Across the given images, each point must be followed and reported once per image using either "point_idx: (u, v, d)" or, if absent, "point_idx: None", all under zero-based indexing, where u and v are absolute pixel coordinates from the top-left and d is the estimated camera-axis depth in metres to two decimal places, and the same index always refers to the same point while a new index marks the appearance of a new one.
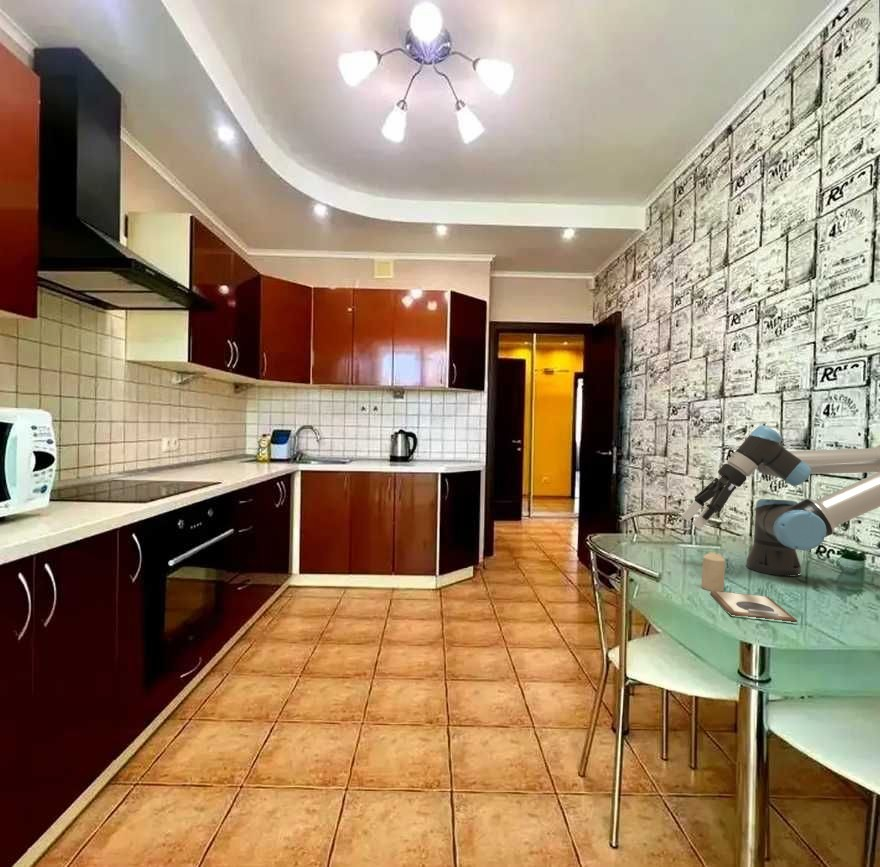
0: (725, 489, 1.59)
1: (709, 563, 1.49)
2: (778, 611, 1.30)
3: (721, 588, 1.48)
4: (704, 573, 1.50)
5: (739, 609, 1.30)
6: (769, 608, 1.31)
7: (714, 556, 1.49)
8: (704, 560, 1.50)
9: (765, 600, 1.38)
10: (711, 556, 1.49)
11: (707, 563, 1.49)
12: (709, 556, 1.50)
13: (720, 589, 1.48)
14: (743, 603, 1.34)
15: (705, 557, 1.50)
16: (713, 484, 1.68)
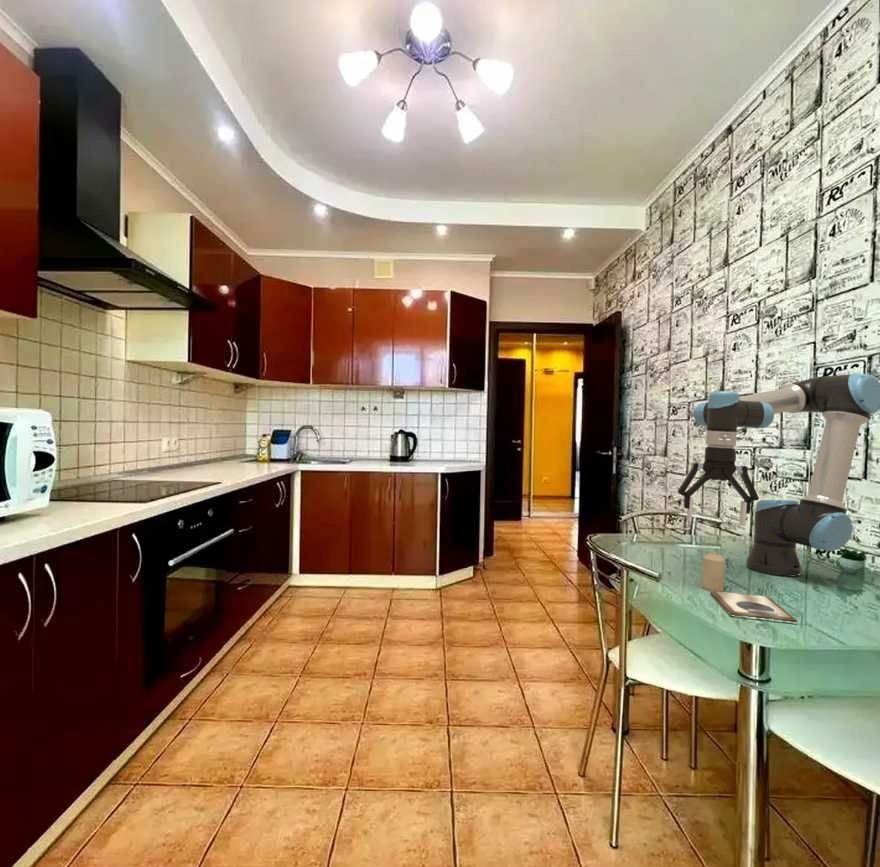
0: None
1: (708, 563, 1.49)
2: (778, 611, 1.30)
3: (721, 588, 1.48)
4: (704, 573, 1.50)
5: (739, 609, 1.30)
6: (769, 608, 1.31)
7: (714, 556, 1.49)
8: (704, 560, 1.50)
9: (765, 600, 1.38)
10: (711, 556, 1.49)
11: (707, 563, 1.49)
12: (709, 556, 1.50)
13: (720, 589, 1.48)
14: (743, 603, 1.34)
15: (705, 557, 1.50)
16: (714, 474, 1.49)
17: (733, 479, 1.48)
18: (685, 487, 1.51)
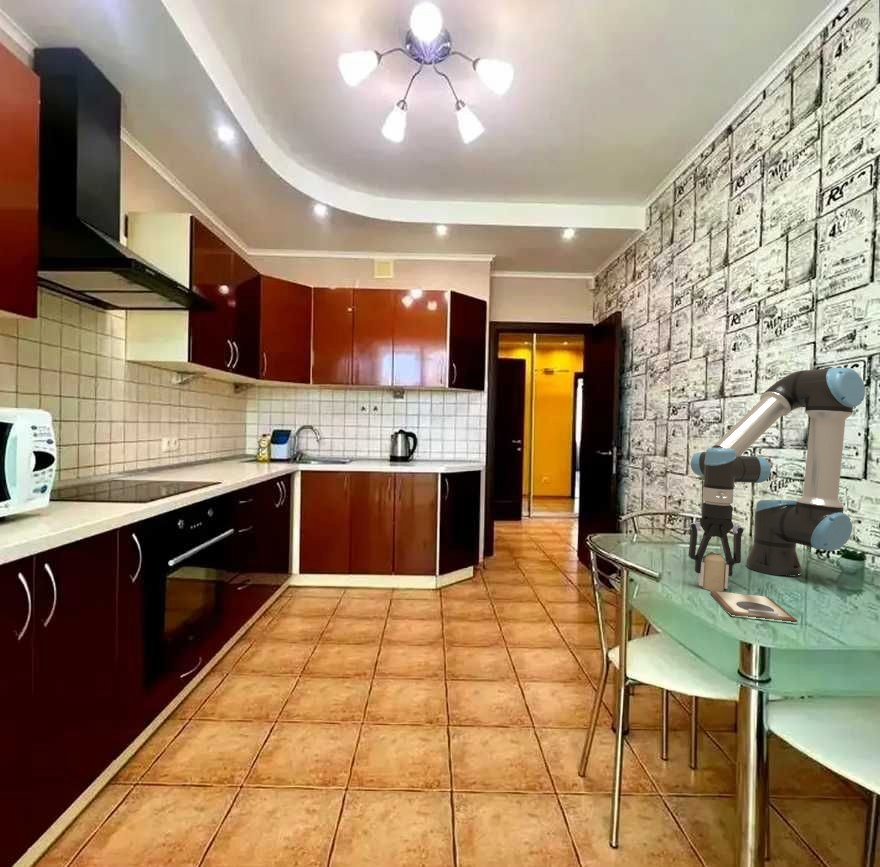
0: None
1: (708, 563, 1.49)
2: (778, 611, 1.30)
3: (721, 588, 1.48)
4: (704, 573, 1.50)
5: (739, 609, 1.30)
6: (769, 608, 1.31)
7: (714, 556, 1.49)
8: (704, 560, 1.50)
9: (765, 600, 1.38)
10: (711, 556, 1.49)
11: (707, 563, 1.49)
12: (709, 556, 1.50)
13: (720, 589, 1.48)
14: (743, 603, 1.34)
15: (705, 557, 1.50)
16: (713, 531, 1.49)
17: (726, 538, 1.48)
18: (693, 550, 1.50)
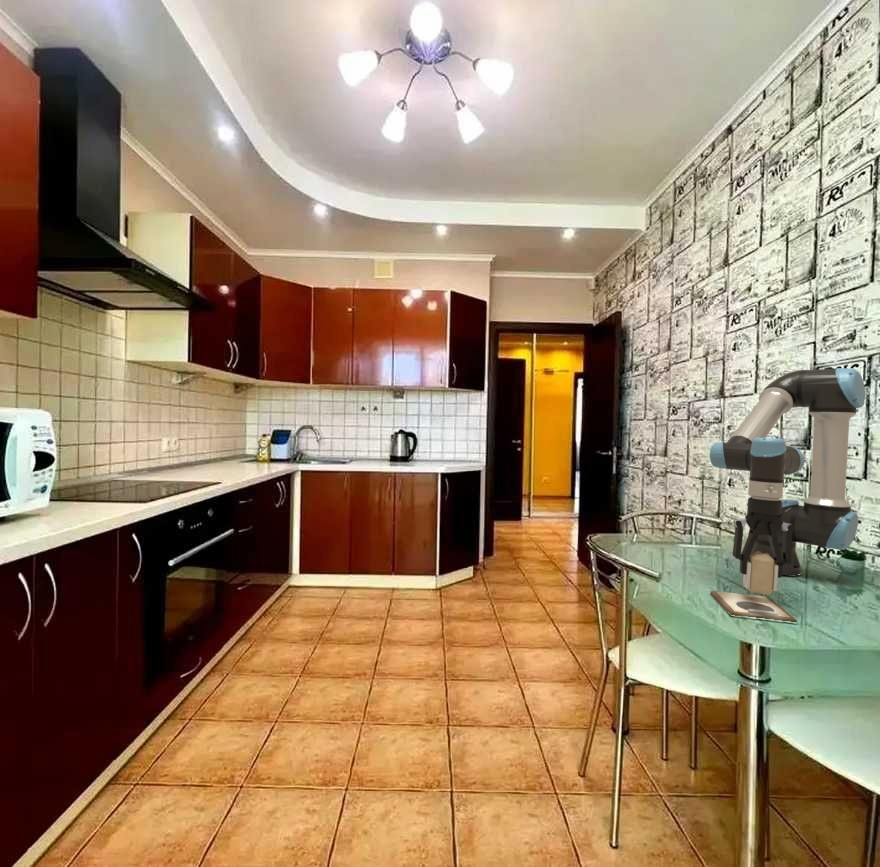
0: None
1: (756, 564, 1.36)
2: (778, 611, 1.30)
3: (770, 591, 1.36)
4: (751, 574, 1.37)
5: (739, 609, 1.30)
6: (769, 608, 1.31)
7: (762, 556, 1.36)
8: (751, 560, 1.38)
9: (765, 600, 1.38)
10: (759, 556, 1.37)
11: (754, 564, 1.37)
12: (756, 556, 1.37)
13: (769, 592, 1.35)
14: (743, 603, 1.34)
15: (752, 557, 1.38)
16: (761, 528, 1.36)
17: (775, 536, 1.36)
18: (739, 550, 1.38)
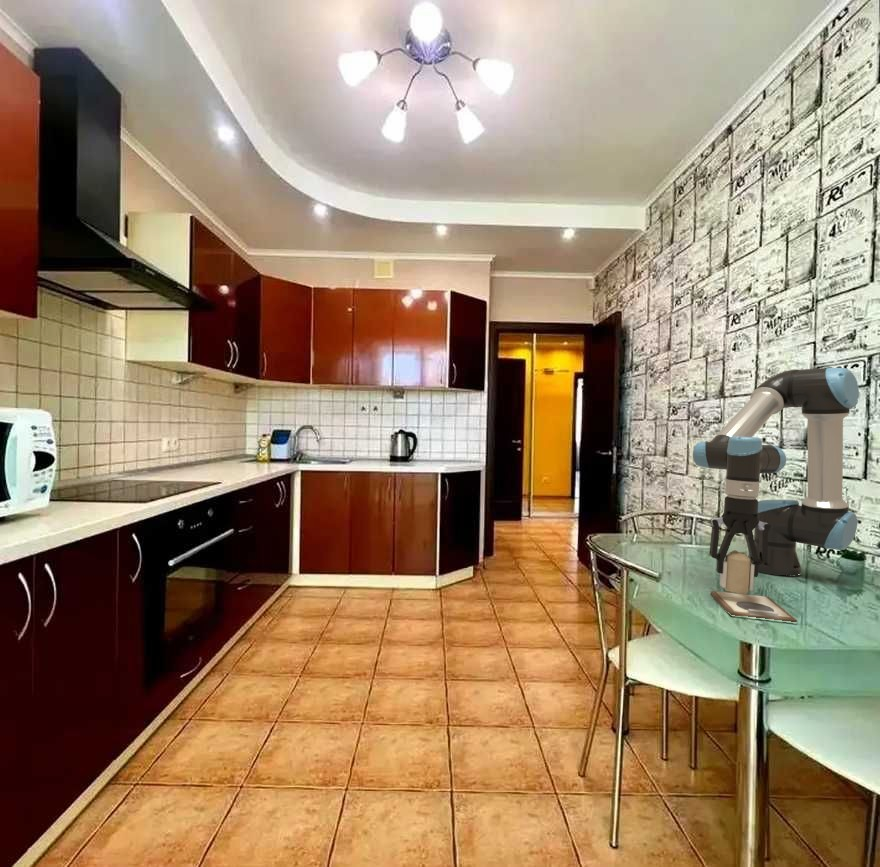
0: None
1: (732, 563, 1.36)
2: (778, 611, 1.30)
3: (746, 590, 1.35)
4: (727, 573, 1.37)
5: (739, 609, 1.30)
6: (769, 608, 1.31)
7: (738, 555, 1.36)
8: (727, 559, 1.37)
9: (765, 600, 1.38)
10: (735, 555, 1.36)
11: (730, 563, 1.36)
12: (732, 555, 1.36)
13: (745, 591, 1.35)
14: (743, 603, 1.34)
15: (728, 556, 1.37)
16: (737, 527, 1.36)
17: (751, 535, 1.35)
18: (715, 549, 1.37)
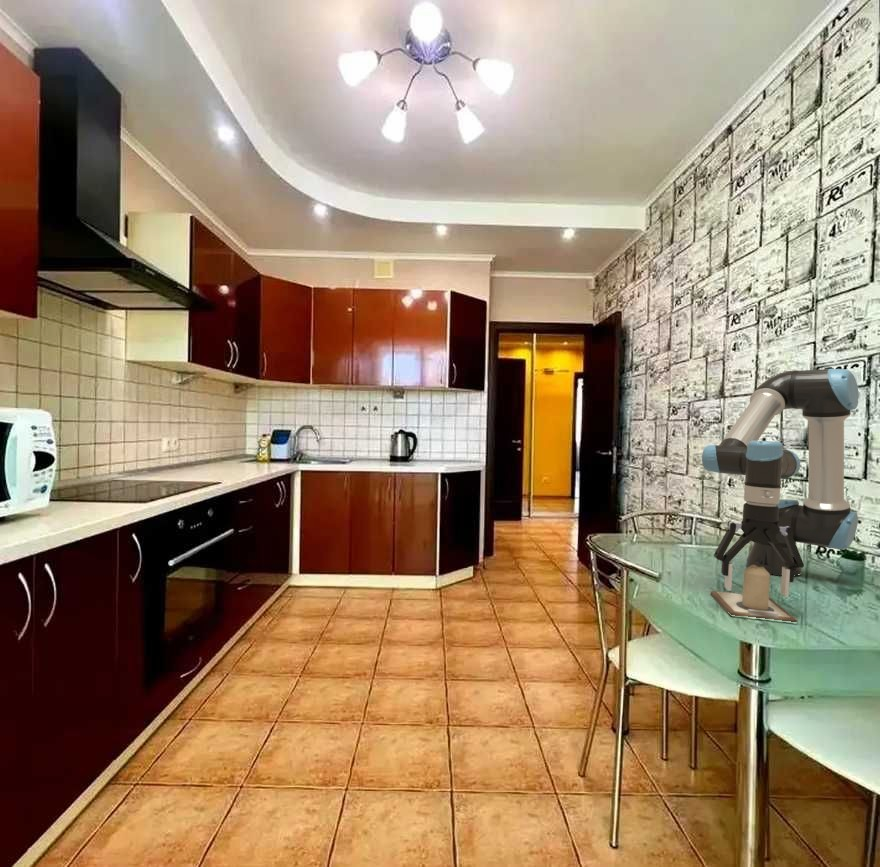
0: None
1: (751, 578, 1.30)
2: (778, 611, 1.30)
3: (766, 606, 1.30)
4: (746, 589, 1.31)
5: (739, 609, 1.30)
6: (769, 608, 1.31)
7: (757, 570, 1.30)
8: (745, 574, 1.32)
9: None
10: (754, 570, 1.31)
11: (749, 578, 1.31)
12: (751, 570, 1.31)
13: (765, 608, 1.29)
14: None
15: (747, 571, 1.32)
16: (755, 535, 1.30)
17: (776, 542, 1.29)
18: (723, 551, 1.32)
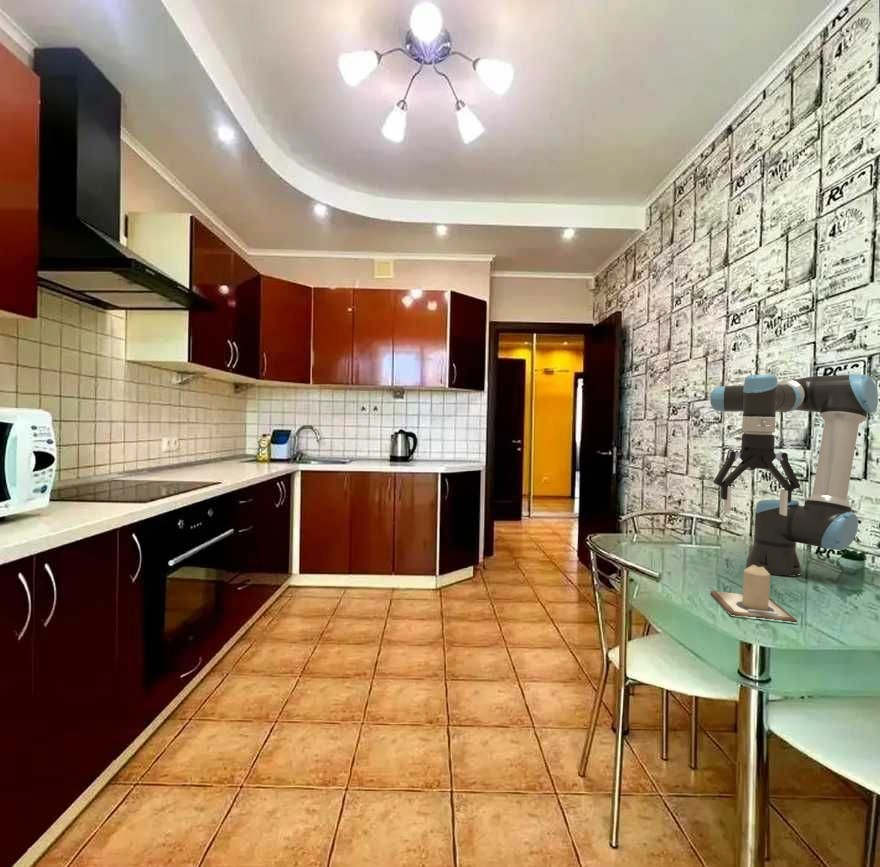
0: None
1: (751, 578, 1.30)
2: (778, 611, 1.30)
3: (766, 606, 1.30)
4: (746, 589, 1.31)
5: (739, 609, 1.30)
6: (769, 608, 1.31)
7: (757, 570, 1.30)
8: (745, 574, 1.32)
9: None
10: (754, 570, 1.31)
11: (749, 578, 1.31)
12: (751, 570, 1.31)
13: (765, 608, 1.29)
14: None
15: (747, 571, 1.32)
16: (753, 462, 1.41)
17: (773, 467, 1.40)
18: (722, 477, 1.43)
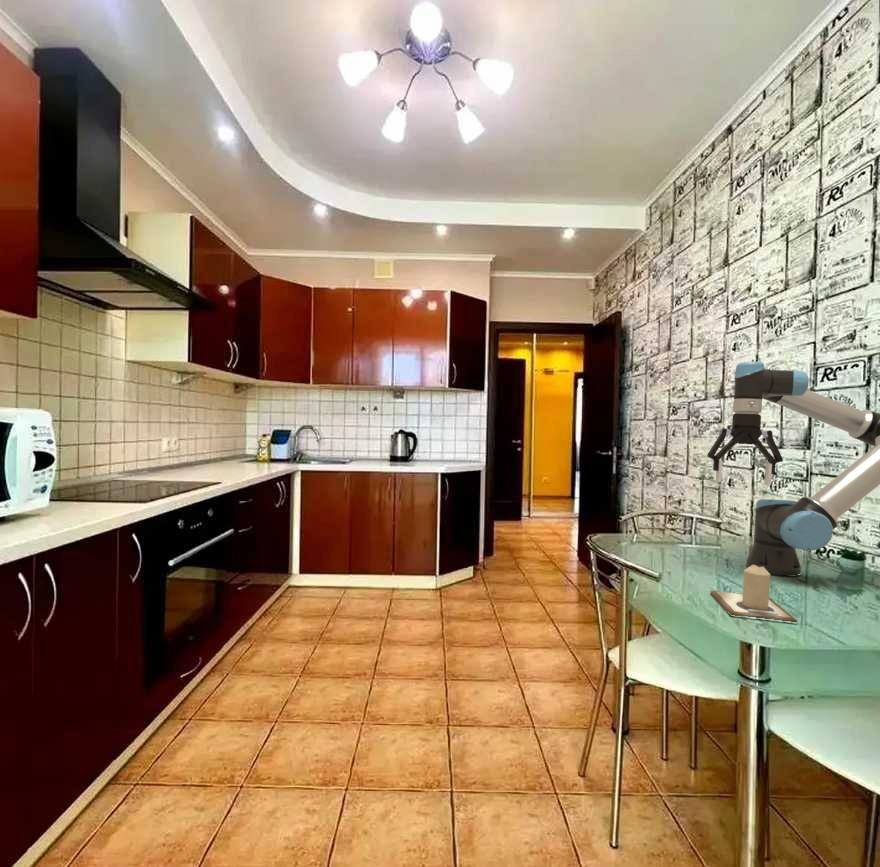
0: None
1: (751, 578, 1.30)
2: (778, 611, 1.30)
3: (766, 606, 1.30)
4: (746, 589, 1.32)
5: (739, 609, 1.30)
6: (769, 608, 1.31)
7: (758, 570, 1.30)
8: (746, 574, 1.32)
9: None
10: (754, 570, 1.31)
11: (749, 578, 1.31)
12: (752, 570, 1.31)
13: (765, 608, 1.29)
14: None
15: (747, 571, 1.32)
16: (742, 438, 1.62)
17: (759, 442, 1.61)
18: (714, 451, 1.64)
